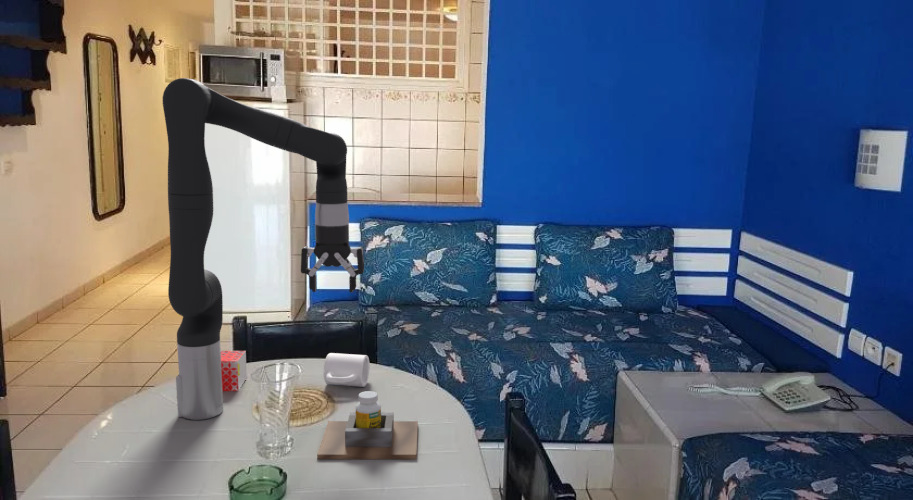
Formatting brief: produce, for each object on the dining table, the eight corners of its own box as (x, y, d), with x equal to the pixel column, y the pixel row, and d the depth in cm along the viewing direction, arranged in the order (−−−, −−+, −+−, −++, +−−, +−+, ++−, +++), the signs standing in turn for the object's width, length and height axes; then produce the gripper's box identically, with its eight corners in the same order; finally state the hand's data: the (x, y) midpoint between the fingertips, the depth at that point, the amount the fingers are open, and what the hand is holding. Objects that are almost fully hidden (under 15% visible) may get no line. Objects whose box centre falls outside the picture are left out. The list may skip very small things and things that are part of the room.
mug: (333, 377, 191) (332, 348, 189) (369, 380, 190) (369, 351, 188) (318, 394, 179) (317, 364, 178) (357, 397, 178) (357, 366, 176)
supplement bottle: (366, 429, 158) (366, 387, 156) (386, 435, 155) (386, 393, 153) (350, 438, 153) (350, 395, 151) (370, 444, 150) (369, 401, 149)
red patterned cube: (238, 391, 180) (237, 361, 179) (206, 391, 180) (205, 361, 179) (246, 379, 188) (245, 350, 187) (216, 379, 188) (214, 350, 187)
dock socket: (317, 459, 146) (316, 438, 145) (328, 425, 162) (328, 406, 161) (416, 459, 147) (416, 438, 146) (417, 425, 162) (417, 406, 162)
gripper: (297, 224, 160) (299, 295, 163) (361, 225, 161) (362, 295, 164) (303, 219, 168) (304, 287, 171) (365, 220, 168) (365, 288, 171)
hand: (333, 291), depth 167 cm, fingers open, 8 cm apart
